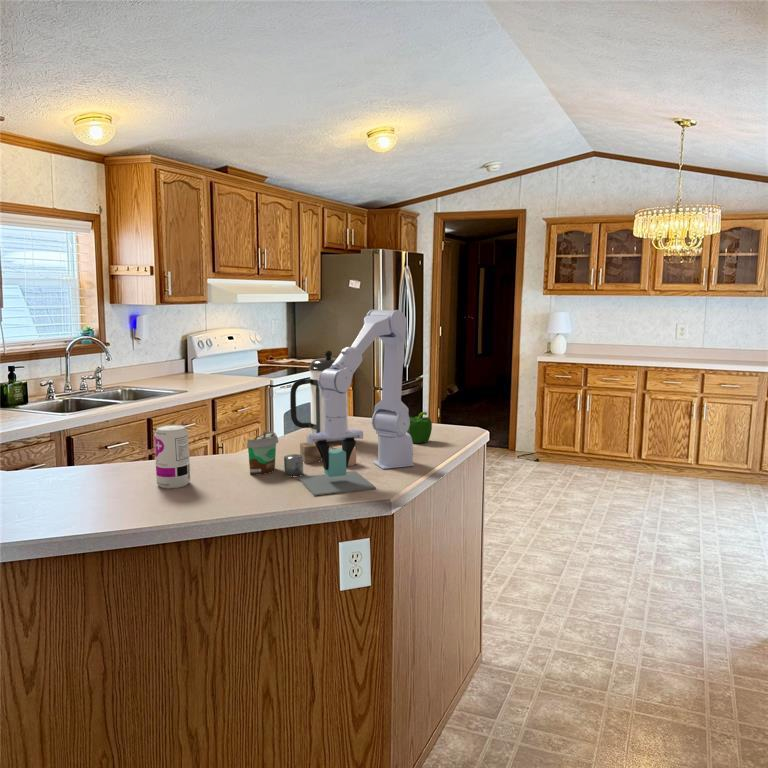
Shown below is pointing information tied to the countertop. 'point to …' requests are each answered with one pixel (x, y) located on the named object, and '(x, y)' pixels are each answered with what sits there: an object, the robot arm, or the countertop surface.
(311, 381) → the coffee press
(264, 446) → the food container
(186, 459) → the supplement can
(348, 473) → the mat
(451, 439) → the countertop surface
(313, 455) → the walnut block
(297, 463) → the metal canister
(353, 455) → the terracotta block
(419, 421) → the bell pepper
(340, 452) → the teal block
